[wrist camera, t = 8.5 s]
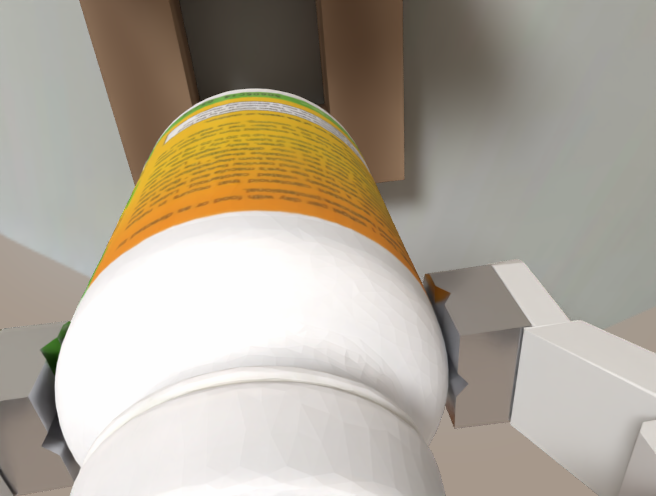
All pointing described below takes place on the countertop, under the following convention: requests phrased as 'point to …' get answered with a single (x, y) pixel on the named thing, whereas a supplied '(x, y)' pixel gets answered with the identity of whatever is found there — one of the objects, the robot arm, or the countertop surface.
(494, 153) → the countertop surface
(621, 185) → the countertop surface
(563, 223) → the countertop surface
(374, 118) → the socket dock
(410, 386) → the supplement bottle
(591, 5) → the countertop surface
